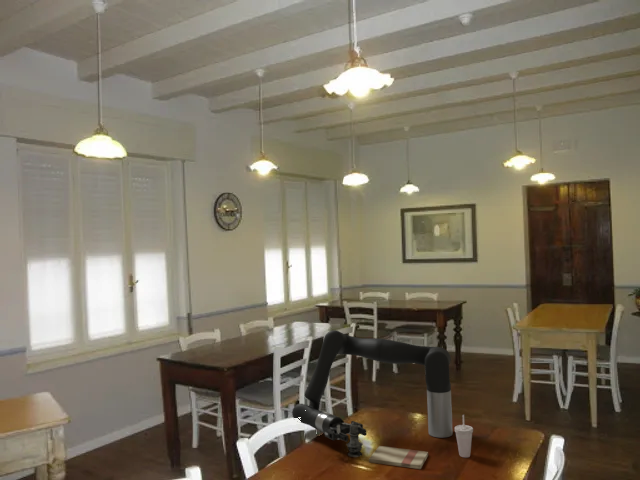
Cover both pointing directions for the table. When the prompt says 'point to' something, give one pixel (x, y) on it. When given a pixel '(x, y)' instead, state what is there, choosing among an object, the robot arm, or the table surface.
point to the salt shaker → (354, 442)
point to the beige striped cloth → (399, 457)
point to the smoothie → (464, 439)
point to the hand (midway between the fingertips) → (356, 435)
